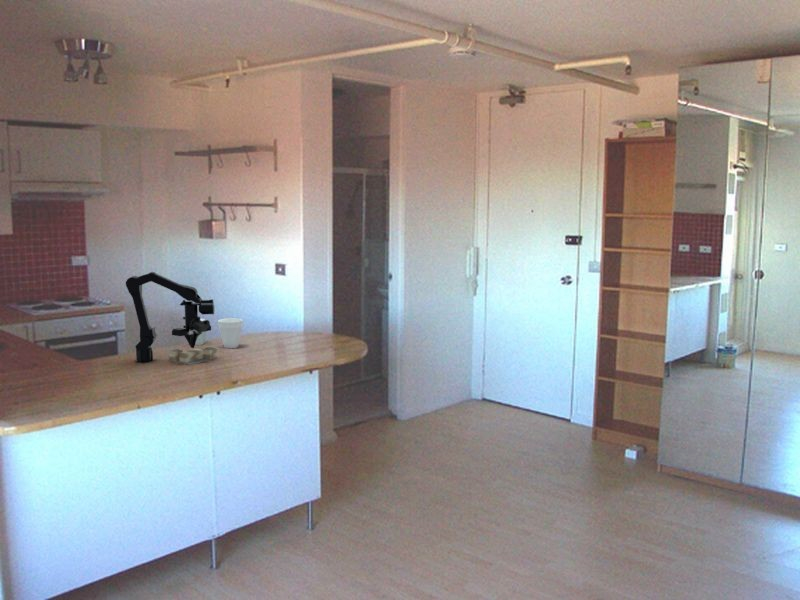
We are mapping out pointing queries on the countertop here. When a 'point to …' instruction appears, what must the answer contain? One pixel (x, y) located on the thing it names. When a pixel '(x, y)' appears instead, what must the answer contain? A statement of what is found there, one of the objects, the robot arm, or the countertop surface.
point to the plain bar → (191, 355)
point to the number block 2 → (210, 353)
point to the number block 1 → (174, 355)
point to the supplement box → (201, 337)
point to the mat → (194, 361)
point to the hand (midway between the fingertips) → (192, 348)
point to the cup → (230, 331)
